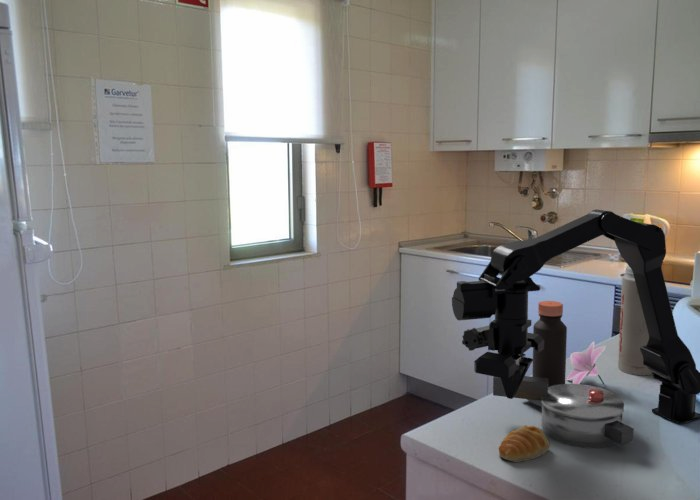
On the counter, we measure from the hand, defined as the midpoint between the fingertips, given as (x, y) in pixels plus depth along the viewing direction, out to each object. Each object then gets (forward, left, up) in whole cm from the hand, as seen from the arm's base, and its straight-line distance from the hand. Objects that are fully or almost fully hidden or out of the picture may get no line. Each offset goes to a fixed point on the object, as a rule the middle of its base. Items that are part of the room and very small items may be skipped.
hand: (510, 397), depth 108 cm
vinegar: (-20, -12, -8) cm, 24 cm away
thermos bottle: (-48, -13, -8) cm, 50 cm away
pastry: (+2, +6, -8) cm, 10 cm away
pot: (-13, +2, -7) cm, 15 cm away
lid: (-10, +1, -2) cm, 10 cm away
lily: (-31, -12, -8) cm, 34 cm away
